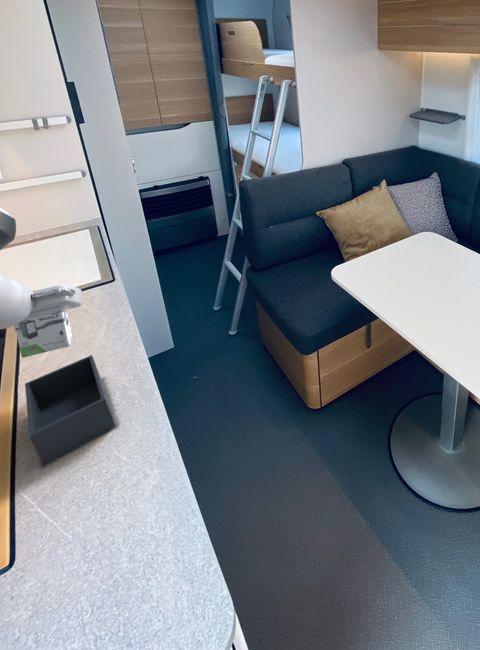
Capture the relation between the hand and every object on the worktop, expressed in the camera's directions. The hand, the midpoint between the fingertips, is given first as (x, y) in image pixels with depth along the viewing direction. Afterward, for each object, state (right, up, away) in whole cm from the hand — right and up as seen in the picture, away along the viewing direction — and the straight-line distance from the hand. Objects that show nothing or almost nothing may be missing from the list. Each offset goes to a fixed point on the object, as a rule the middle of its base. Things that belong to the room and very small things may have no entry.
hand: (36, 314), depth 87 cm
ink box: (-1, -9, +5) cm, 10 cm away
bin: (+8, -23, +1) cm, 24 cm away
